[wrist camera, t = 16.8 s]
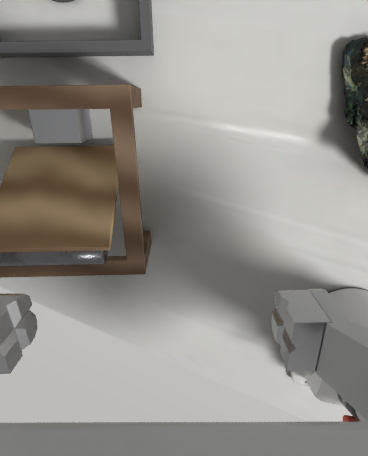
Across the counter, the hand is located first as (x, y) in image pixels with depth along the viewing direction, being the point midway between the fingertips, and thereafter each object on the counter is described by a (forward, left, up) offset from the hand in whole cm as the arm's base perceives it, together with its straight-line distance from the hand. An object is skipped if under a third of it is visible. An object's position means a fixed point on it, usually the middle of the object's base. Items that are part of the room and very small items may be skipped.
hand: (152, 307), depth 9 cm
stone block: (+2, +12, -28) cm, 30 cm away
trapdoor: (-5, +13, -25) cm, 28 cm away
